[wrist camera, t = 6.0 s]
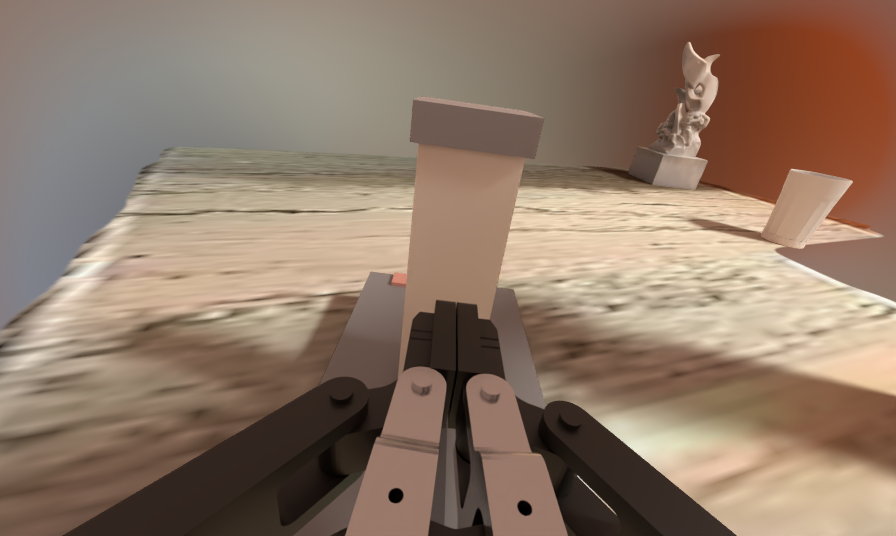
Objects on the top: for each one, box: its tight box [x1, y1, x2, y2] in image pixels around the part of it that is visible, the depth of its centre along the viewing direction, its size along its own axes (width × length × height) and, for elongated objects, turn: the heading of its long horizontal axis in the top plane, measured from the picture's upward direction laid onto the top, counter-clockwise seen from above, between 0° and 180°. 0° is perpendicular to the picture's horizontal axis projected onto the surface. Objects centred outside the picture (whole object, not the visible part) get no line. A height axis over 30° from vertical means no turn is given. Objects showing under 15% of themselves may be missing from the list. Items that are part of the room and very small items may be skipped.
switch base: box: [293, 272, 546, 536], centre depth 21 cm, size 12×22×3 cm, turn 179°
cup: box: [760, 169, 853, 248], centre depth 63 cm, size 8×8×12 cm
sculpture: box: [628, 42, 720, 190], centre depth 99 cm, size 13×13×35 cm
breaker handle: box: [398, 96, 544, 378], centre depth 17 cm, size 5×4×13 cm
